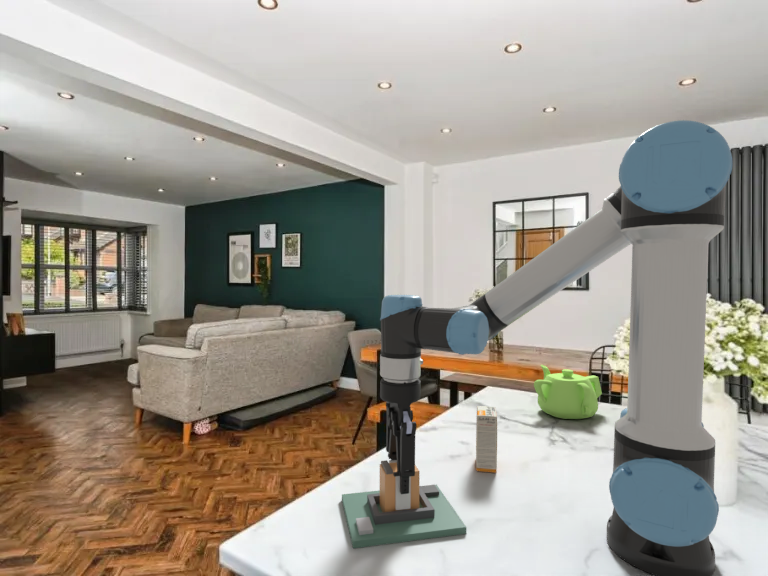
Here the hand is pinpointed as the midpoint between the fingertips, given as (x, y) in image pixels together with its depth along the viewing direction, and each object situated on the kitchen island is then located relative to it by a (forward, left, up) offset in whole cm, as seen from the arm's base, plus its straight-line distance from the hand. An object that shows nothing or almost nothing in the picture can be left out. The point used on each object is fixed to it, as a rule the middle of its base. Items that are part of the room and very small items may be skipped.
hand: (399, 500), depth 83 cm
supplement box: (+17, -26, -3) cm, 31 cm away
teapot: (+50, -69, -3) cm, 85 cm away
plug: (0, 0, -2) cm, 2 cm away
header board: (0, 0, -3) cm, 3 cm away
